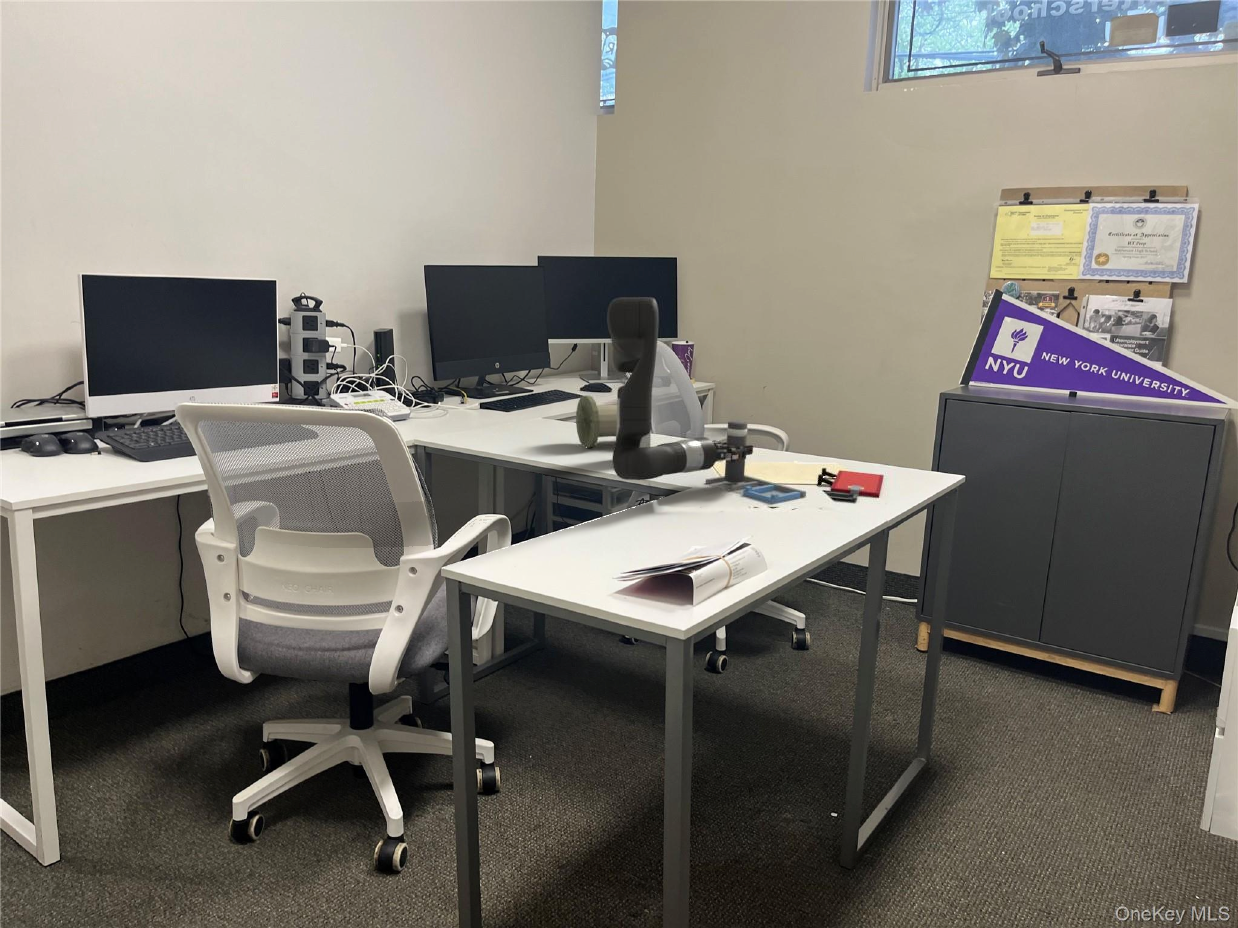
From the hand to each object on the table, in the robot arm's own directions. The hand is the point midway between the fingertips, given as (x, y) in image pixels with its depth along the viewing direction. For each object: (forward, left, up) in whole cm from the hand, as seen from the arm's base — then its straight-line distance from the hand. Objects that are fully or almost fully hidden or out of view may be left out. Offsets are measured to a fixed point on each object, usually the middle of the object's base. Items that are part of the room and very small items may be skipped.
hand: (743, 447), depth 213 cm
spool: (-29, +50, -10) cm, 59 cm away
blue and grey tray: (+2, -7, -10) cm, 12 cm away
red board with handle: (+27, +2, -11) cm, 29 cm away
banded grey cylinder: (-2, -2, -8) cm, 8 cm away
